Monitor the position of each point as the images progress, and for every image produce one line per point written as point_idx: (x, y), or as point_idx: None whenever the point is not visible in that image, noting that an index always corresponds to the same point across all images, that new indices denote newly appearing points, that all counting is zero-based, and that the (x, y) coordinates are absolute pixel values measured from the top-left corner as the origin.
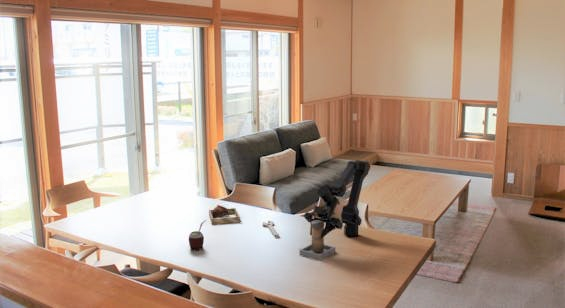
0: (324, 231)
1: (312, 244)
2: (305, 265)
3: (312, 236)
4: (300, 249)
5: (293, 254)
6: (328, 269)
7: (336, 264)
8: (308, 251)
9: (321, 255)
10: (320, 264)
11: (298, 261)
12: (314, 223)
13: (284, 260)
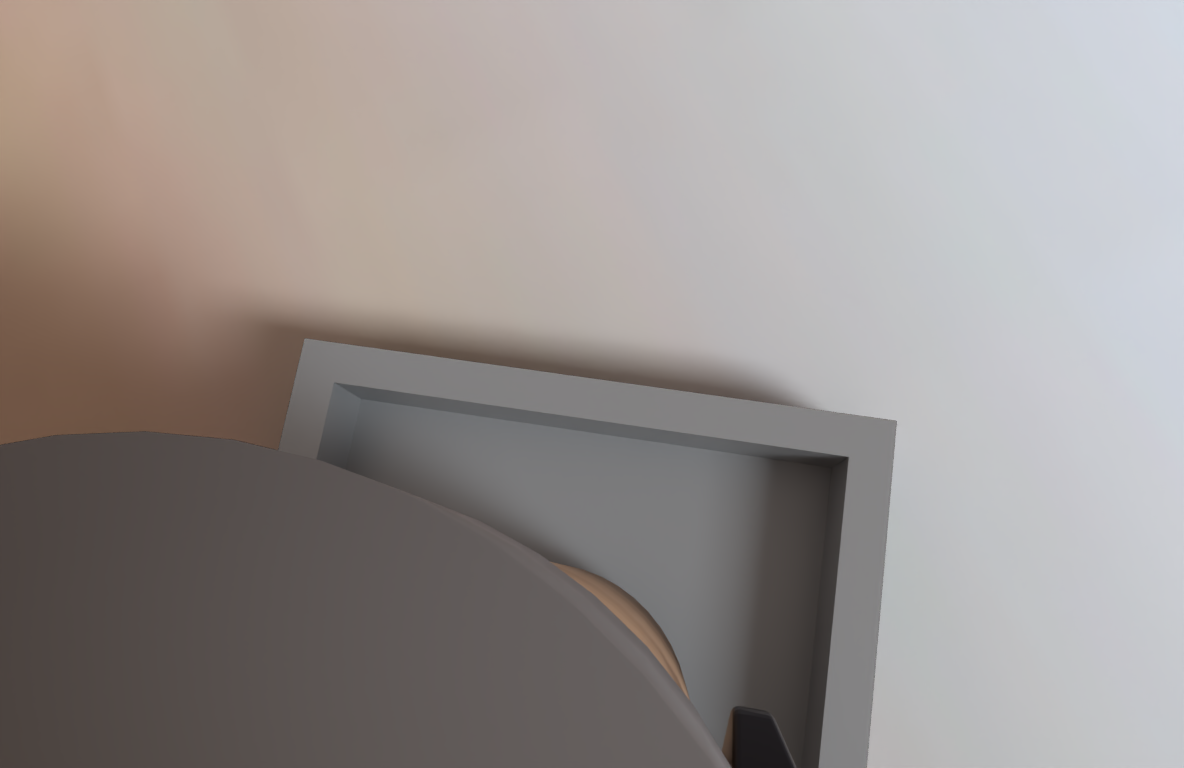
0: None
1: (617, 591)
2: (513, 39)
3: (601, 596)
4: (891, 451)
5: (997, 402)
6: (93, 75)
7: (17, 328)
8: (654, 425)
9: (303, 371)
10: (286, 196)
11: (712, 133)
12: (233, 587)
13: (975, 54)
